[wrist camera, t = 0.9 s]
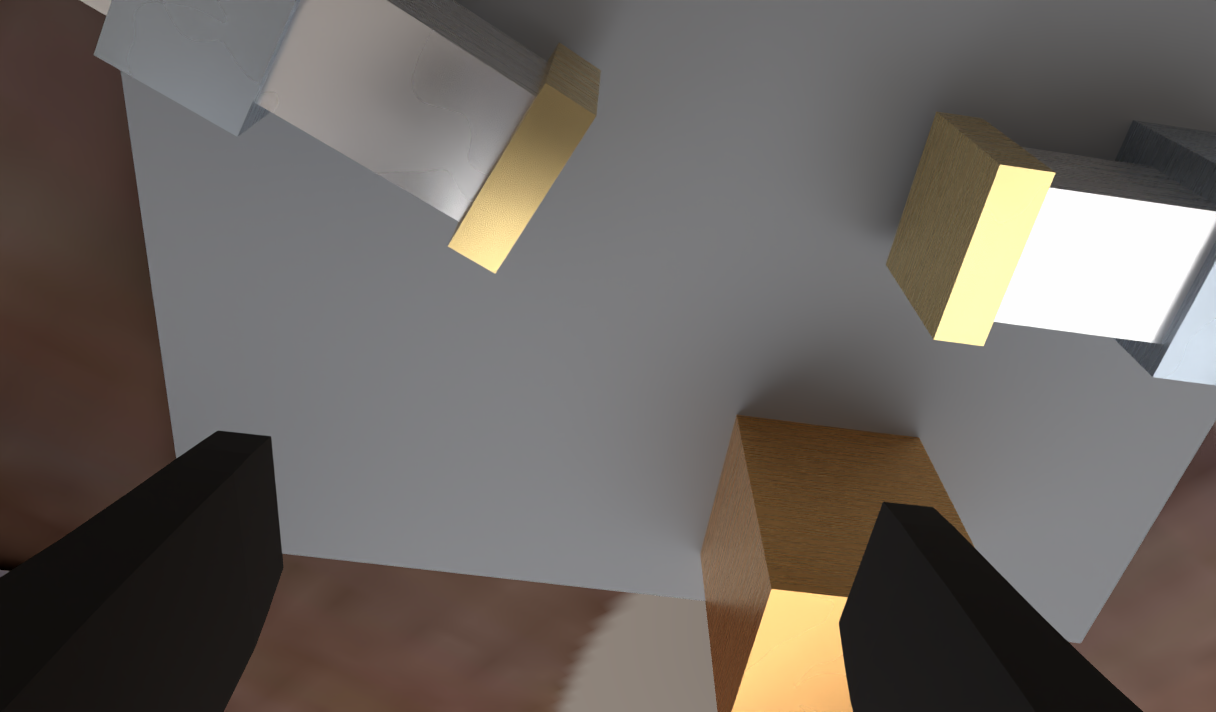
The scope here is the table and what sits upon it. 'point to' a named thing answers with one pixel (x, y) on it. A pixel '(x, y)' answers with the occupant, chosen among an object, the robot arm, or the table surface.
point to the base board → (674, 296)
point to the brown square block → (798, 554)
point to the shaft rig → (567, 105)
